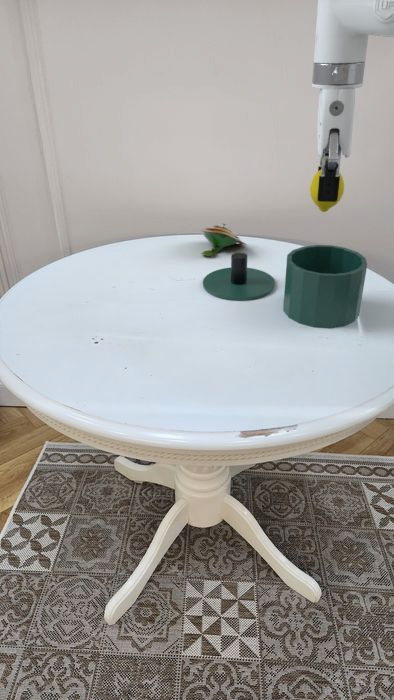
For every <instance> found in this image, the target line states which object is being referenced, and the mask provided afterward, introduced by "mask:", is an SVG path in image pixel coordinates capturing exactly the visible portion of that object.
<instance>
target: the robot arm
mask: <svg viewBox="0 0 394 700" xmlns="http://www.w3.org/2000/svg"><path fill="white" fill-rule="evenodd" d="M369 36H375V37H382V38H394V0H317V12H316V25H315V37H314V38H315V39H314V51H313V52H314V53H313V66H312V67H313V68H312V81H311V88H314V89H319V92H318V105H317V106H318V107H317V124H316V142H317V143H316V144H317V154H318V156H319V166H318V167H317V172H318V171H320V170H321V169H322V170H321V176H319V186H318V198H317V199H318V201H320V202H336V201H337V200H338V190H339V181H340V176H339V172H340V166H341V155H342V156H344V157H345V159H348V158H350V156H351V149H352V137H353V127H354V117H355V103H356V89H358V88H362V87H363V85H364V76H365V67H366V59H367V52H368V51H367V49H368V43H369V42H368V41H369Z"/></svg>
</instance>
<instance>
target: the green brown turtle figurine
mask: <svg viewBox="0 0 394 700" xmlns="http://www.w3.org/2000/svg"><path fill="white" fill-rule="evenodd" d="M225 226H226V223H222V226H221V225H215V224H214V225H212V227H204V228H203V229H193V231H196V232H197V233H201V234H202V235H203V237H204V239H206V240H207V241H208V243H209V244H211V247H212V248H211V249H208V250H204V251H202V252H201V253H200V255H202V256H204V257H208V258H212V257H214V256H215V255H216V254H218V252H220V251H221V250H222V249H224V248H225V247H226V248H227V247H230V246H233V245H236V244H238V245H243V246H247V243H245V242H243V241H242V240H241V238H240V237H239V236H238V235H236V234H235V233H234V231H233V230H231V229H228V228H226V227H225Z"/></svg>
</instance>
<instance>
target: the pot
mask: <svg viewBox="0 0 394 700" xmlns="http://www.w3.org/2000/svg"><path fill="white" fill-rule="evenodd" d="M285 265H286V267H285V280H284V294H283V308H282V311H283V312H284V314H285V315H286V316H287V318H288V319H290V320H292V321H294V322H296V323H298V324H300V325H303V326H307V327H311V328H317V329H334V328H341V327H342V328H343V327H345V326H346V327H347V326H348V325H350V324H352V323H354V322H355V321H356V320H358V318H359V316H360V312H361V305H362V299H363V293H364V287H365V281H366V275H367V269H368V262H367V258H366V257H365V256H364V255H362V254H361V253H359V252H358V251H355V250H353V249H350V248H347V247H343V246H338V245H330V244H314V245H305V246H301V247H298V248H295V249H292V250H291V251H290V252H288V254H287V255H286V264H285Z"/></svg>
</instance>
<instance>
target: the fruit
mask: <svg viewBox="0 0 394 700" xmlns="http://www.w3.org/2000/svg"><path fill="white" fill-rule="evenodd" d="M321 170H322V169H321ZM321 170H320V171H318V170H317V172H316V173H315V174H314V176H313V177H312V179H311V182H310V186H309V192H310V194H309V195H310V197H311V199H312V202H313V203H314V204H315V206H317V207H318V209H319V211H321V212H322V213H326V212H328V211H329V210H330V209H331V208H333V207H335V206H336V205H337V204H338V203H339V202H340V201H341V199H342V198H343V195H344V192H345V181H344V179H343V176H342V173H341V172H340V171H339V176H340V181H339V190H338V200H337V201H336V202H320V201H318V199H317V198H318V186H319V176H321Z"/></svg>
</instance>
